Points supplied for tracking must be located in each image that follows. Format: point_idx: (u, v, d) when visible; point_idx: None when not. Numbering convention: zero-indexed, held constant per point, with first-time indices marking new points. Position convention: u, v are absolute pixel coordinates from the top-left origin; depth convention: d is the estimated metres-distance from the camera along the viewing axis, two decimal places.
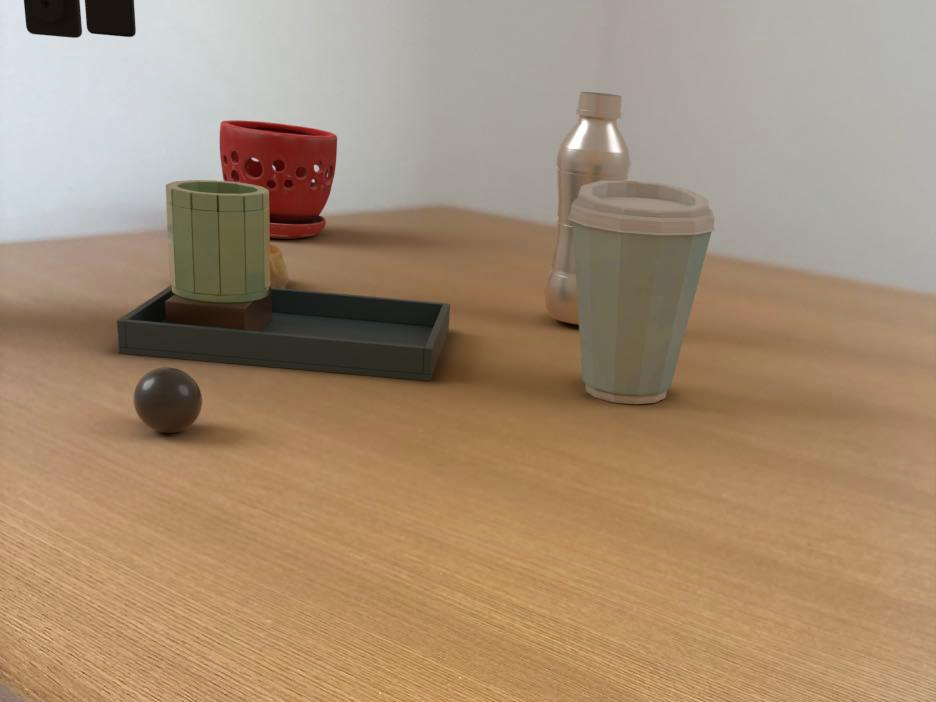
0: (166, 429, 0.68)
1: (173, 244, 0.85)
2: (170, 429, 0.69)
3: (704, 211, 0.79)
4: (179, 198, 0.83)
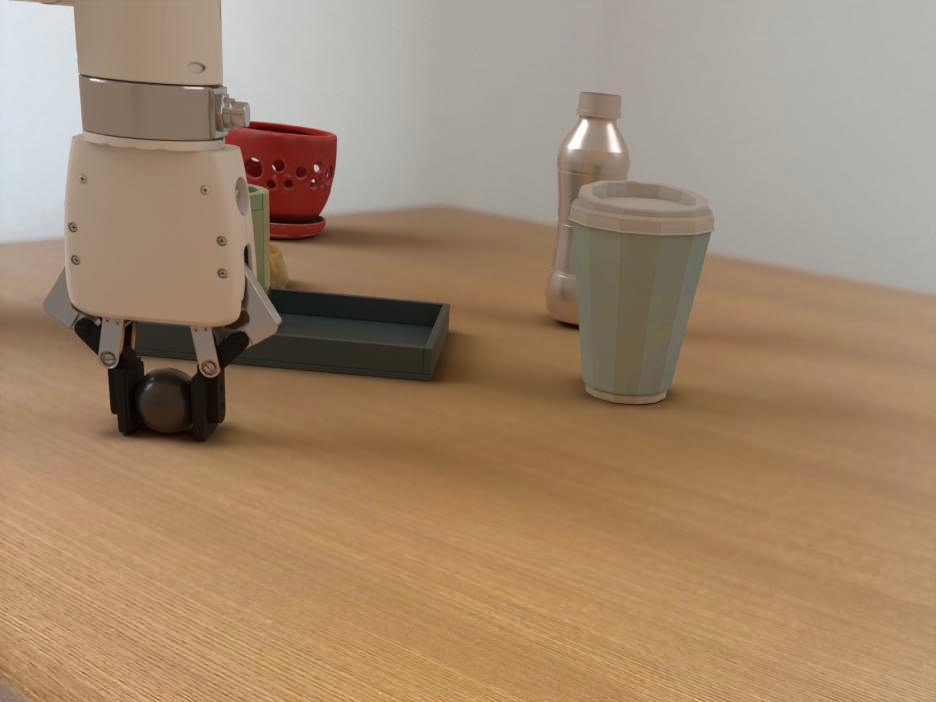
0: (166, 429, 0.68)
1: None
2: (170, 430, 0.69)
3: (704, 211, 0.79)
4: None
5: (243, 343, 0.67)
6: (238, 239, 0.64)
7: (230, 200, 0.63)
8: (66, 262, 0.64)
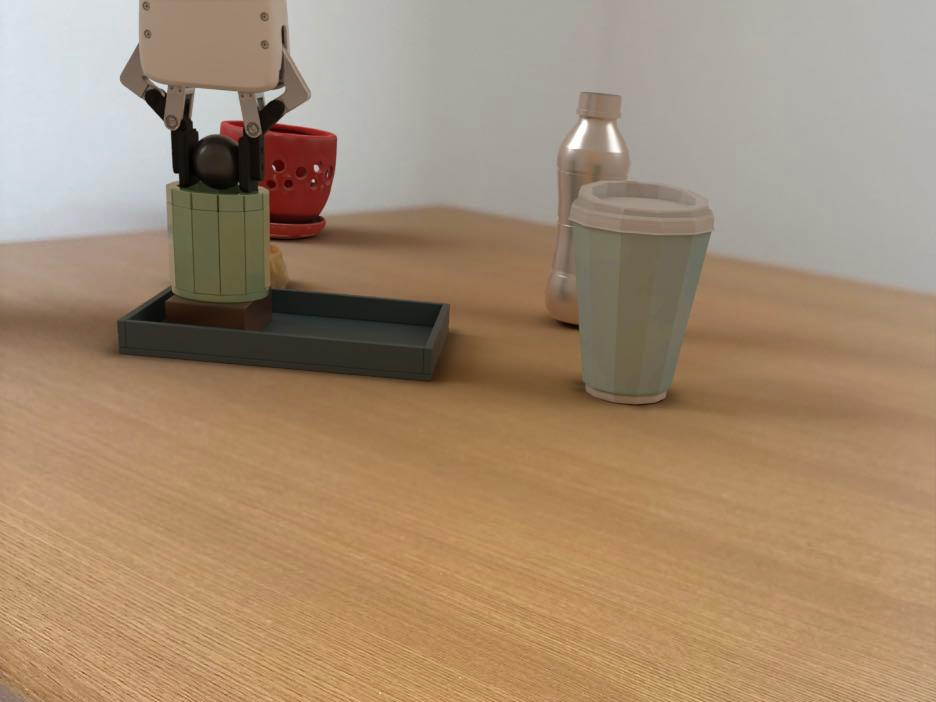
0: (218, 183, 0.85)
1: (173, 244, 0.85)
2: (221, 184, 0.85)
3: (704, 211, 0.79)
4: (179, 198, 0.83)
5: (280, 109, 0.83)
6: (277, 17, 0.80)
7: None
8: (140, 36, 0.80)
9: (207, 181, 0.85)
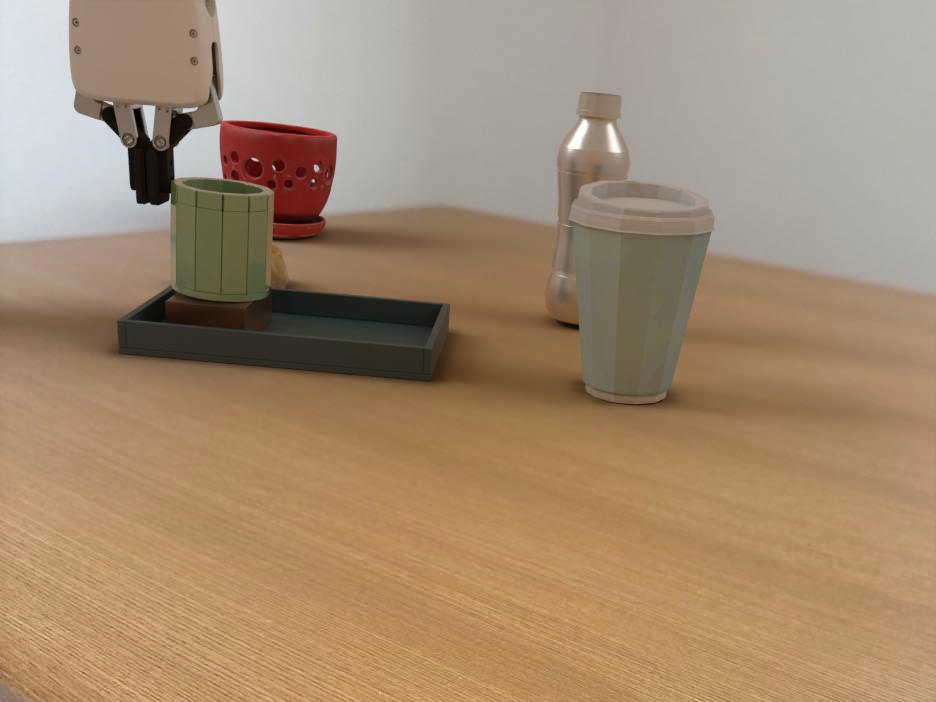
0: None
1: (175, 241, 0.85)
2: None
3: (704, 211, 0.79)
4: (184, 195, 0.83)
5: (187, 122, 0.83)
6: (207, 33, 0.81)
7: (200, 0, 0.79)
8: (70, 52, 0.81)
9: None
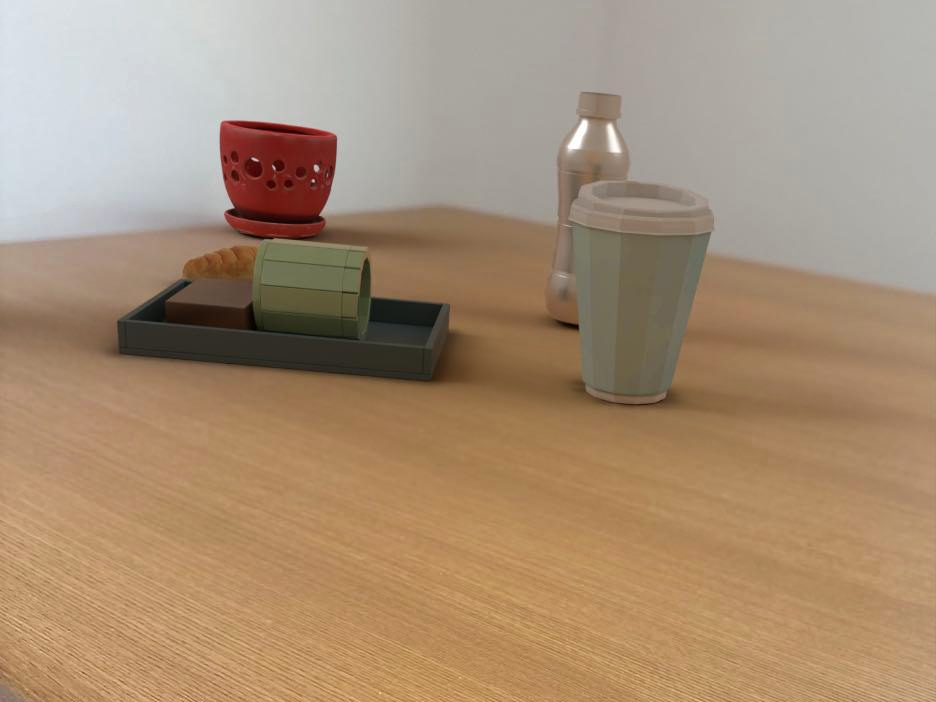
0: None
1: (306, 262, 0.86)
2: None
3: (704, 211, 0.79)
4: (351, 278, 0.86)
5: None
6: None
7: None
8: None
9: None
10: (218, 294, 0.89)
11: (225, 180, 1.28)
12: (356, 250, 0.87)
